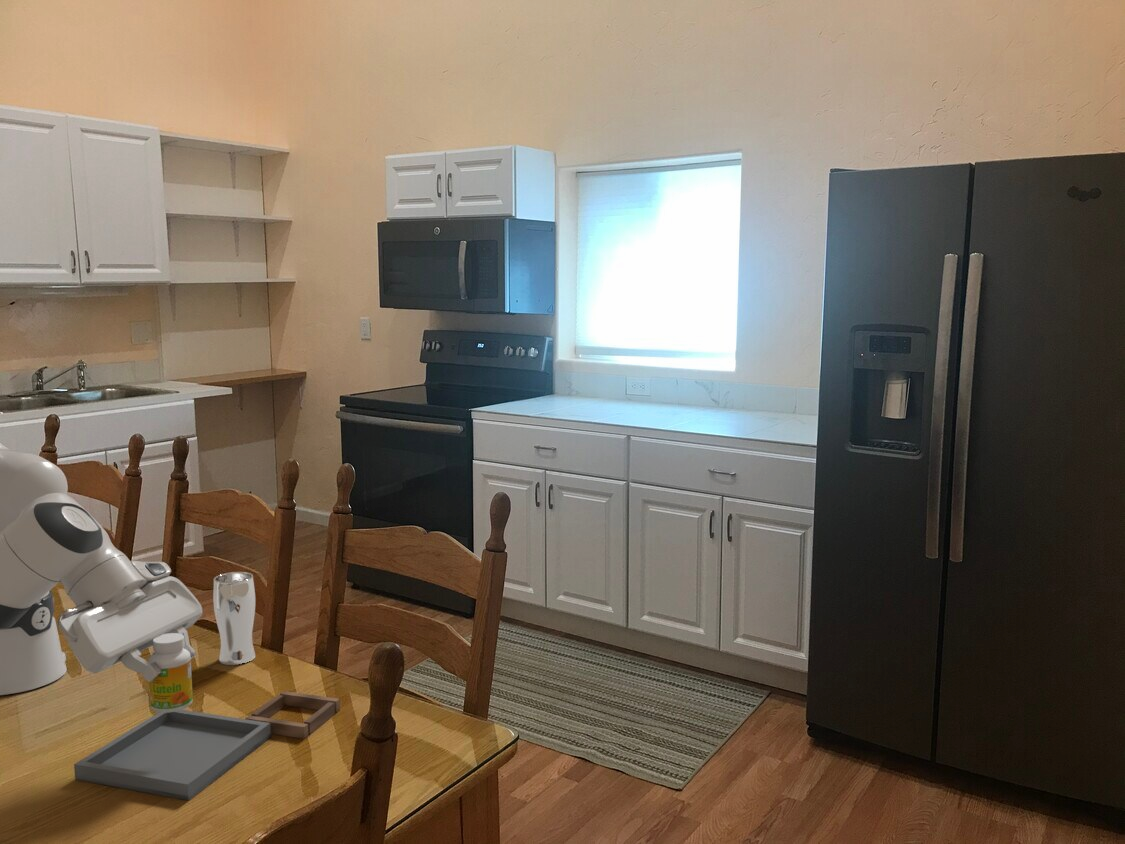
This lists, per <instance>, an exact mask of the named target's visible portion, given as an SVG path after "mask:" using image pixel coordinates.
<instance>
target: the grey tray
mask: <svg viewBox="0 0 1125 844" xmlns="http://www.w3.org/2000/svg"><path fill="white" fill-rule="evenodd" d="M271 737H272V734H271V728H270V723H267V722H260V721H253V720H247V719H245V718H241V717H233V716H227V715H226V716H225V715H219V714H213V713H206V712H201V711H200V712H199V711H193V710H186V709H182V710H179V711H176V712H170V713H160V712H156V714H154V715H153V716H151V717H149V718H148V719H146V720H144V721H142V722H141V723H139V724H138V725H136V726H134V727H133V728H131V729H130V730H128V731H126V732H125V733H123V734H121V735H119V736H118V737H116V738H115V739H113V740H111V741H109V742H107V744H105V745H103V746H102V747H100V748H98V749H97V750H95V751H93V752H92V753H90V754H88V755H87V756H85V757H84V758H82V759H80V760H79V761H77V762H75V763H74V764H73V767H74V768H73V769H74V780H75V781H80V782H85V783H86V782H87V783H91V784H98V785H101V786H106V787H107V786H108V787H113V788H119V789H123V790H131V791H134V792H135V791H136V792H141V793H145V794H152V795H157V796H161V797H167V798H173V799H178V800H184V801H190V800H192V799H193V798H194V797H196V796H197V795H198V794H199V793H201V792H202V791H204V789H206V788H207V787H209V785H211V784H212V783H214V782H215V781H216V780H217V779H219V778H220V777H221V776H223V775H224V774H225V773H226V772H228V771H229V770H230V769H232V768H234V767H235V765H237V764H238V763H240V762H241V761H242V760H244V759H245V758H246V757H247V756H249V755H251V754H252V753H253V752H254V751H255V750H256V749H258V748H259V747H260V746H262V745H263V744H264V743H266V742H267V741H268V740H270V739H271Z"/></svg>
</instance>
